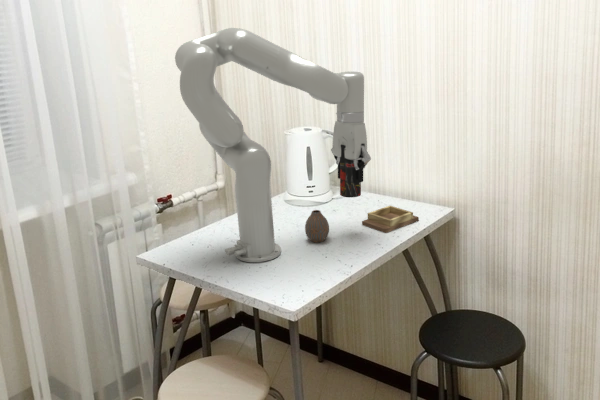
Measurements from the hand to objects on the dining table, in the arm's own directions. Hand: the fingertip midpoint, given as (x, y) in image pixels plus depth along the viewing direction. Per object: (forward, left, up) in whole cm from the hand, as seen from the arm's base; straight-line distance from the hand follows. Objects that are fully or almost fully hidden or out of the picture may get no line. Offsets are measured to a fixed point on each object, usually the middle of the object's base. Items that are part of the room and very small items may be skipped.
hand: (350, 179), depth 188 cm
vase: (-10, +4, -17) cm, 20 cm away
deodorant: (0, 0, -5) cm, 5 cm away
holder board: (+14, -2, -17) cm, 22 cm away
